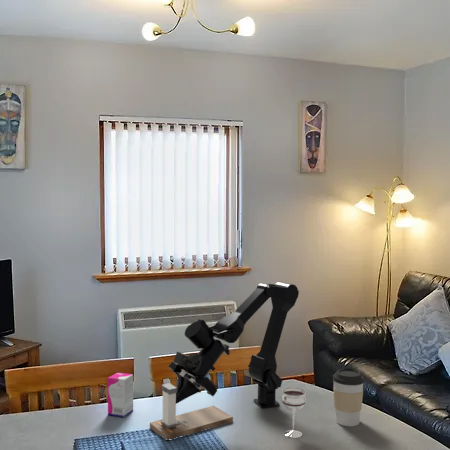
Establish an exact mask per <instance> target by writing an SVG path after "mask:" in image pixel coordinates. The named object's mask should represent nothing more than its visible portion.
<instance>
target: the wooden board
mask: <svg viewBox="0 0 450 450" xmlns="http://www.w3.org/2000/svg"><path fill="white" fill-rule="evenodd" d="M161 421H163V418H162V419H159V420H155V421H152V422H149V429H150V430H152V431H154V432H155V434H157V435H158V434H159V435H158V436H160V435H161V436H163V437H164V438H165V439H167V440H169V439H173V440H175V439H174V438H176V437H180V436H183V437H185V436H184V435H187V436H189V435H188V434H190V435H193V434H196V433H195V432H197V433H199V431H200V432H203V431H202V430H204V431H206V430H205V429H207V430H209V429H208V428H210V429H214V428H216V427H220V426H223V425H226V424H230V423H233V422H234V417H233V416H232V415H231V414H229V413H227V412H226V411H225V410H222V409H221V408H218V407H217V406H215V405H210V406H207V407H203V408H200V409H196V410H192V411H188V412H184V413H181V414H176V423H177V426H175V427H172V428H166V427H165V426H164V425H162V424H161ZM192 433H193V434H192ZM161 436H160V437H161ZM180 438H181V437H180ZM165 439H164V440H165Z"/></svg>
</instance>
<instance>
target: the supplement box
mask: <svg viewBox="0 0 450 450" xmlns="http://www.w3.org/2000/svg"><path fill="white" fill-rule="evenodd" d="M133 411H134V374H132V373H125V372H116V373H114V374H112V375H110V376H109V377H107V416H111V417H112V416H113V417H119V418H126V417H127V416H128V415H130V414H131V413H132V412H133Z"/></svg>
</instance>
